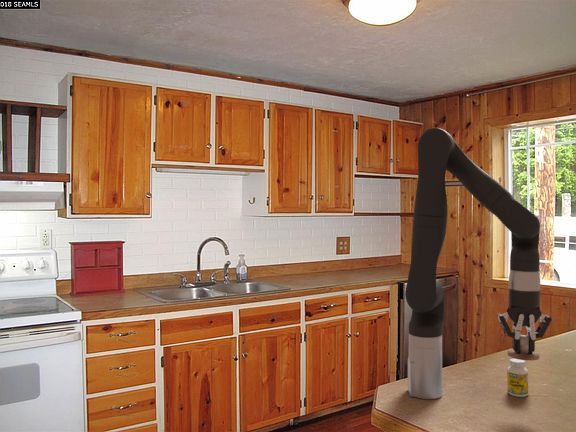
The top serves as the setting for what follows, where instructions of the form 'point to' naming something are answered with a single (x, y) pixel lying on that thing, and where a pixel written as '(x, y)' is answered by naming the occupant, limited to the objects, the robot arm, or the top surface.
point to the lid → (523, 350)
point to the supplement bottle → (517, 378)
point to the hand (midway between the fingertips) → (523, 352)
